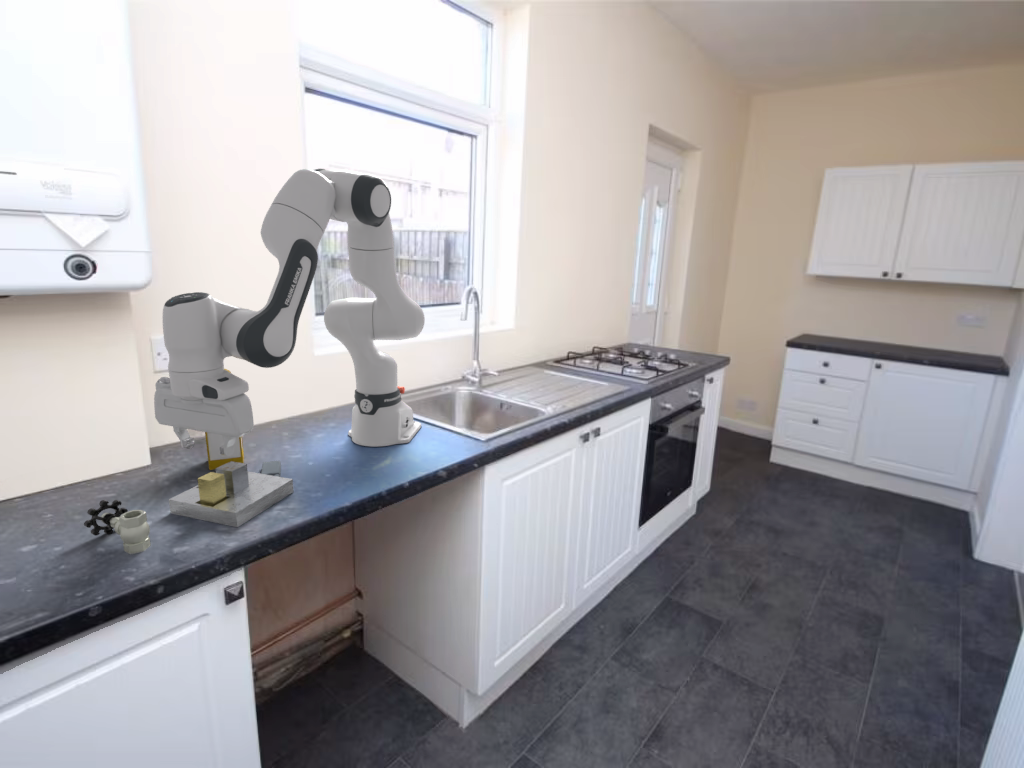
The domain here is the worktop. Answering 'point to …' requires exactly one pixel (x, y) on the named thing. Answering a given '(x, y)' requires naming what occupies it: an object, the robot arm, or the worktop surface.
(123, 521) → the valve
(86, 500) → the worktop surface
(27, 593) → the worktop surface
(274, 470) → the bracket
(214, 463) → the soap bottle
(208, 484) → the yellow rectangular block
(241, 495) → the square plinth with cube
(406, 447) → the worktop surface
